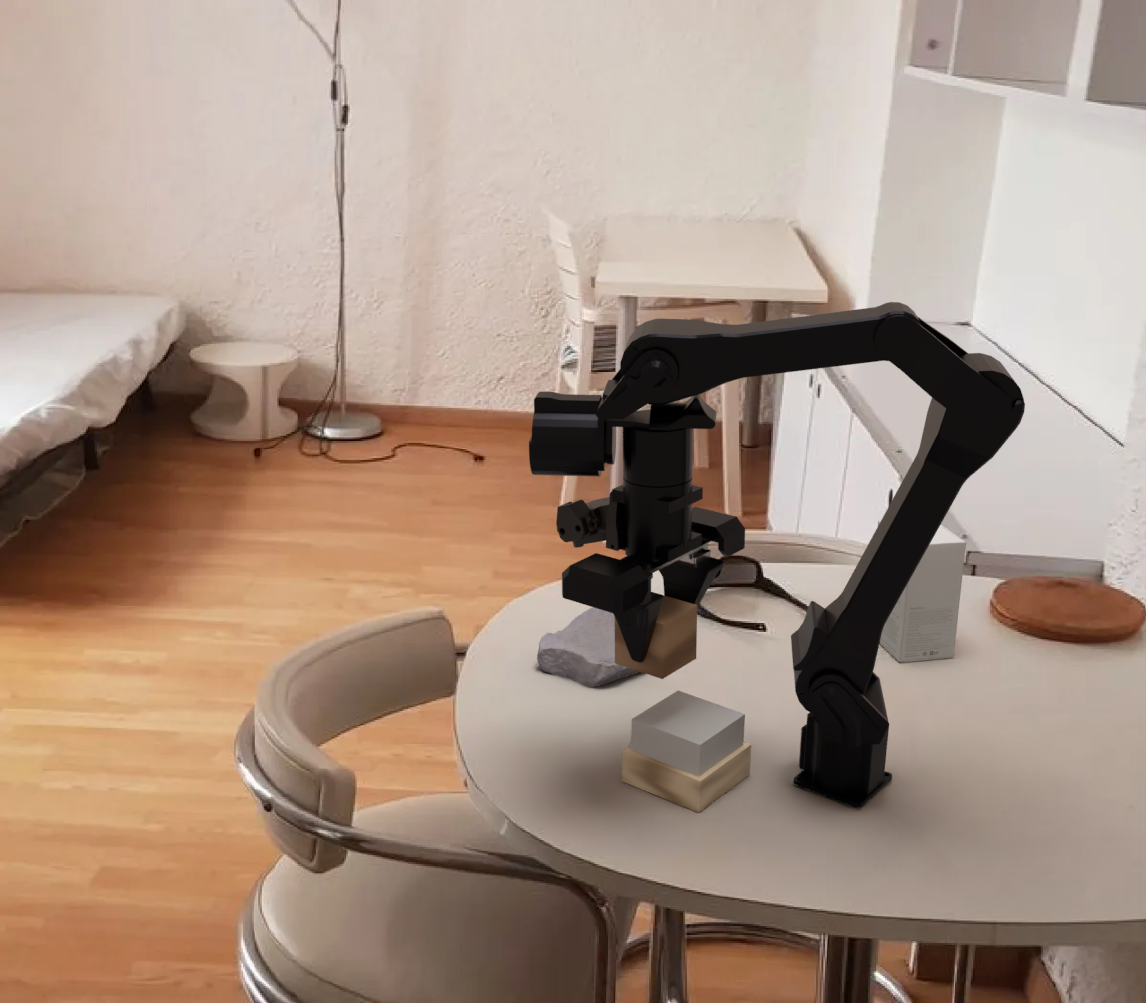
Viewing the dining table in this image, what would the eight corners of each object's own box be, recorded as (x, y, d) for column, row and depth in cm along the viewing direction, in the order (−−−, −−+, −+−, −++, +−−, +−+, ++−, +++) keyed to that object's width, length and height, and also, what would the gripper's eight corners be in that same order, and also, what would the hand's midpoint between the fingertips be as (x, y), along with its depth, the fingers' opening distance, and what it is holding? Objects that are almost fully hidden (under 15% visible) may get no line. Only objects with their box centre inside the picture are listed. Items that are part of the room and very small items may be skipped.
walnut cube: (696, 658, 120) (697, 605, 118) (662, 679, 116) (662, 624, 115) (649, 643, 123) (649, 591, 121) (614, 663, 119) (614, 609, 118)
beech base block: (749, 774, 122) (751, 744, 121) (698, 812, 116) (700, 781, 115) (674, 746, 127) (675, 716, 126) (621, 781, 121) (622, 750, 120)
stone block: (671, 670, 146) (595, 629, 151) (680, 632, 144) (603, 591, 149) (605, 716, 137) (527, 671, 142) (613, 676, 135) (533, 631, 140)
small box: (954, 658, 145) (968, 542, 141) (898, 664, 144) (910, 546, 140) (920, 627, 153) (931, 515, 148) (866, 631, 151) (876, 519, 147)
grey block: (743, 744, 121) (745, 714, 120) (698, 776, 116) (700, 744, 115) (676, 720, 125) (677, 690, 124) (630, 750, 120) (631, 719, 119)
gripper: (645, 434, 126) (644, 594, 131) (508, 487, 112) (513, 663, 117) (750, 456, 119) (745, 623, 124) (618, 514, 105) (619, 700, 110)
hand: (656, 650), depth 119 cm, fingers closed on walnut cube, 5 cm apart
